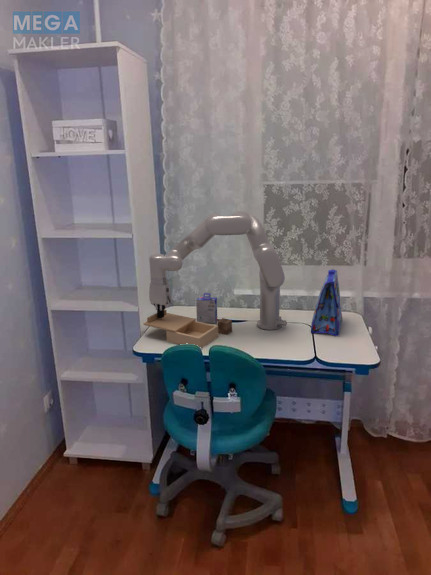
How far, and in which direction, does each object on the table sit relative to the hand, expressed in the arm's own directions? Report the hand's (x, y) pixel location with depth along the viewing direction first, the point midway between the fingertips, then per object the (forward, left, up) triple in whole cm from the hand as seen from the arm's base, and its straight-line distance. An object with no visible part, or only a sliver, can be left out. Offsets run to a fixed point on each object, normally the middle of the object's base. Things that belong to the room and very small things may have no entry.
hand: (160, 317), depth 223 cm
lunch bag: (-67, -44, -8) cm, 81 cm away
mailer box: (-18, 0, -8) cm, 20 cm away
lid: (-5, 0, -2) cm, 5 cm away
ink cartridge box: (-12, -22, -8) cm, 26 cm away
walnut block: (-27, -14, -8) cm, 31 cm away
